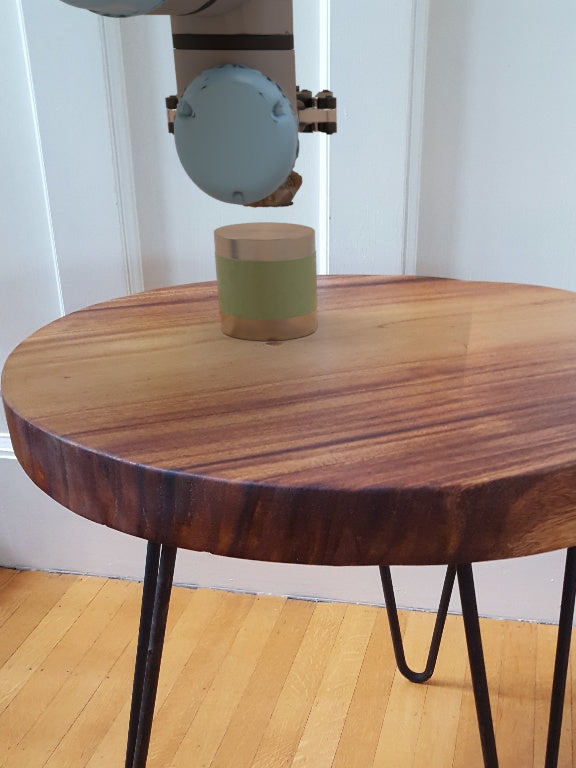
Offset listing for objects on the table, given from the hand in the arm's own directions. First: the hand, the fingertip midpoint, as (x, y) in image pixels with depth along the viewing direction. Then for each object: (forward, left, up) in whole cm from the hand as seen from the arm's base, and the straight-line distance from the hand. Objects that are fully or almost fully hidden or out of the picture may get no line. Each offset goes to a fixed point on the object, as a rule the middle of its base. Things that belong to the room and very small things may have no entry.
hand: (260, 102), depth 89 cm
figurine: (+1, -5, -8) cm, 10 cm away
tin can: (+1, -5, -19) cm, 20 cm away
